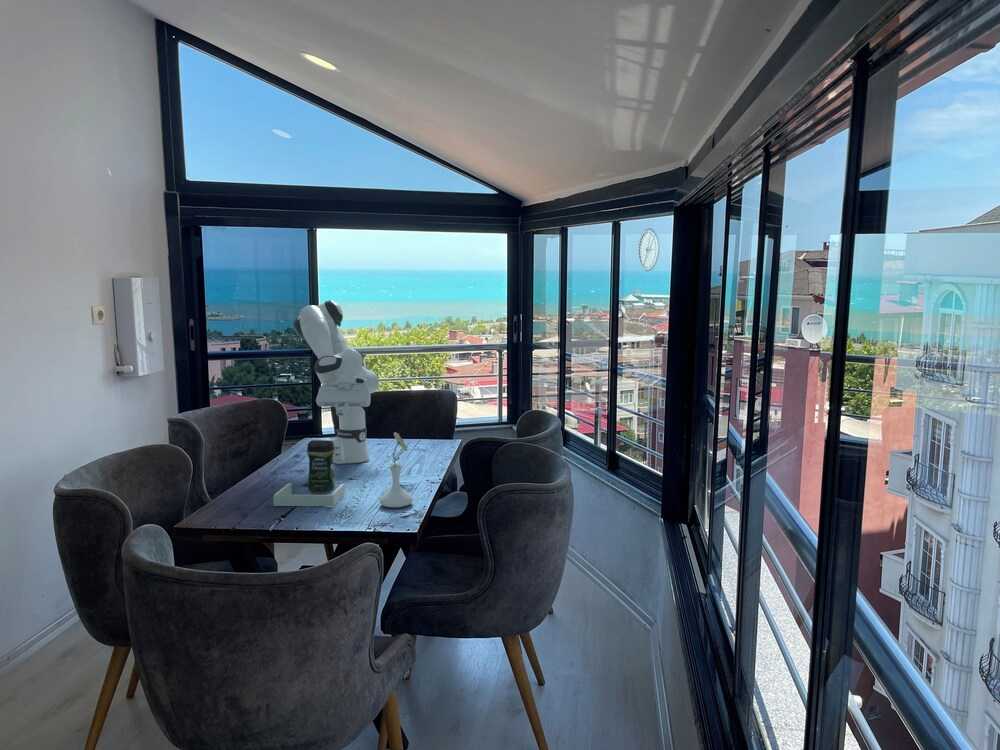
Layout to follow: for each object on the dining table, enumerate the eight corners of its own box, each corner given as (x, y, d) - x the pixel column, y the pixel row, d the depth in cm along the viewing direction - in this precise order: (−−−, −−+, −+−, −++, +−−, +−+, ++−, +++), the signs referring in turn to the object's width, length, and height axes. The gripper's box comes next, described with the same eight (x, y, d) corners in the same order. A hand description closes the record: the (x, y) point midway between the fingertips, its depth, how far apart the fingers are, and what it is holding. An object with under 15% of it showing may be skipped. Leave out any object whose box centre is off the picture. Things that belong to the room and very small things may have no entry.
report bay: (288, 493, 237) (288, 483, 237) (344, 494, 236) (344, 483, 236) (273, 506, 223) (273, 495, 222) (333, 507, 222) (332, 495, 221)
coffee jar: (305, 492, 239) (303, 442, 237) (312, 486, 247) (310, 438, 245) (331, 492, 238) (330, 442, 236) (337, 486, 246) (336, 438, 244)
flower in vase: (412, 510, 219) (411, 436, 216) (377, 511, 218) (376, 437, 215) (414, 498, 232) (413, 429, 229) (381, 499, 231) (380, 429, 228)
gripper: (318, 380, 250) (310, 409, 242) (370, 380, 249) (365, 409, 241) (322, 390, 255) (314, 419, 246) (373, 390, 254) (368, 419, 246)
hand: (340, 414), depth 244 cm, fingers closed
